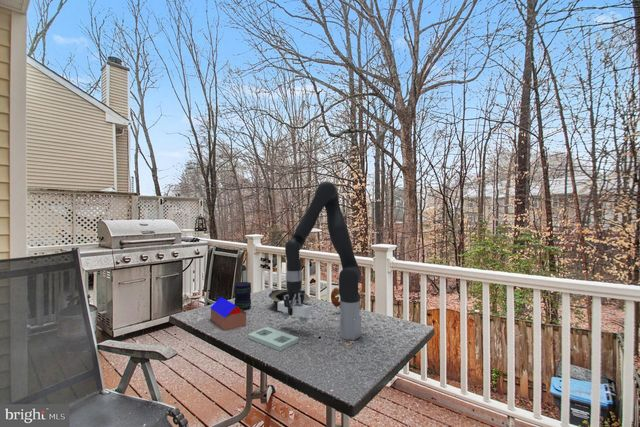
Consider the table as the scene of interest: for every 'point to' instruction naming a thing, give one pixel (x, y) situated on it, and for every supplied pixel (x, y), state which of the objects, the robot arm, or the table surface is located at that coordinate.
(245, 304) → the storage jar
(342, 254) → the robot arm
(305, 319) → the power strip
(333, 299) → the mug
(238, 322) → the house
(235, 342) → the table surface
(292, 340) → the hole board
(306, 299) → the stone bowl
